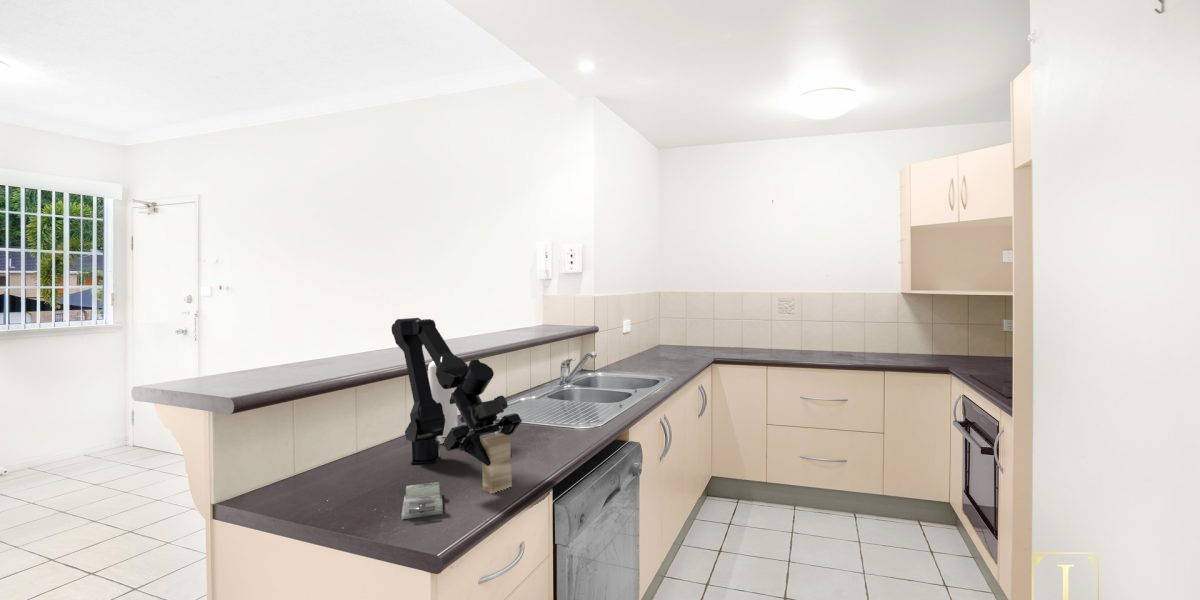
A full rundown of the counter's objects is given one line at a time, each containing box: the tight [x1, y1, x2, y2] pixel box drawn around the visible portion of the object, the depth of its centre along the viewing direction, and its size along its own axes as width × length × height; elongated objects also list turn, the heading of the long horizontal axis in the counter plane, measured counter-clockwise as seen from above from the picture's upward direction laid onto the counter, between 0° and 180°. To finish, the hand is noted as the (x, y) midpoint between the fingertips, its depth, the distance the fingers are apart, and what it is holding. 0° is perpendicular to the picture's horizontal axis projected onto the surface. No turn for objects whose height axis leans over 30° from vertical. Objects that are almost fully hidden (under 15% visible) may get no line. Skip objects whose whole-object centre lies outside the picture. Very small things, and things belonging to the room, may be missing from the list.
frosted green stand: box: [401, 481, 444, 520], centre depth 118 cm, size 13×8×3 cm, turn 17°
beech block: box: [480, 433, 513, 494], centre depth 128 cm, size 4×6×12 cm, turn 137°
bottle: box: [427, 360, 459, 445], centre depth 169 cm, size 8×8×28 cm
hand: (500, 461), depth 127 cm, fingers closed on beech block, 5 cm apart
